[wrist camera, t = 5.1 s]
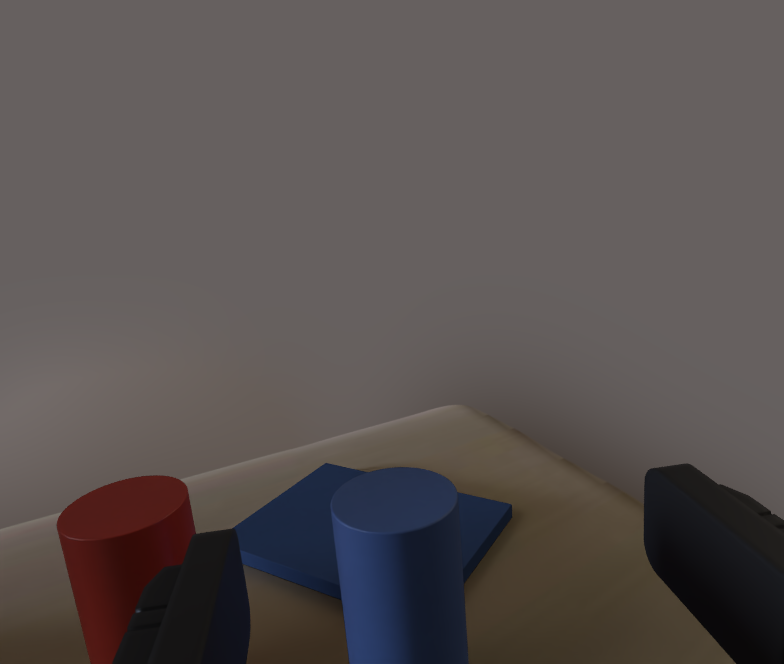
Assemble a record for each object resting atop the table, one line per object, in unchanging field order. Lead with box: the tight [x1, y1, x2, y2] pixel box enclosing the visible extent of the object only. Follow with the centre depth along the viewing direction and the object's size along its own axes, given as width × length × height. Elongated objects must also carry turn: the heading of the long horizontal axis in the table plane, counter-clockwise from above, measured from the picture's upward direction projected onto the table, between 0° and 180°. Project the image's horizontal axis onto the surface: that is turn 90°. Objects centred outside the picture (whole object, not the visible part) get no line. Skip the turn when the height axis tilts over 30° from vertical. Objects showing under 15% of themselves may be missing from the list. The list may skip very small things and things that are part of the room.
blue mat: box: [232, 463, 512, 600], centre depth 41 cm, size 16×12×1 cm
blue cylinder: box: [330, 467, 469, 664], centre depth 25 cm, size 5×5×11 cm
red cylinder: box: [57, 476, 196, 664], centre depth 26 cm, size 5×5×11 cm
